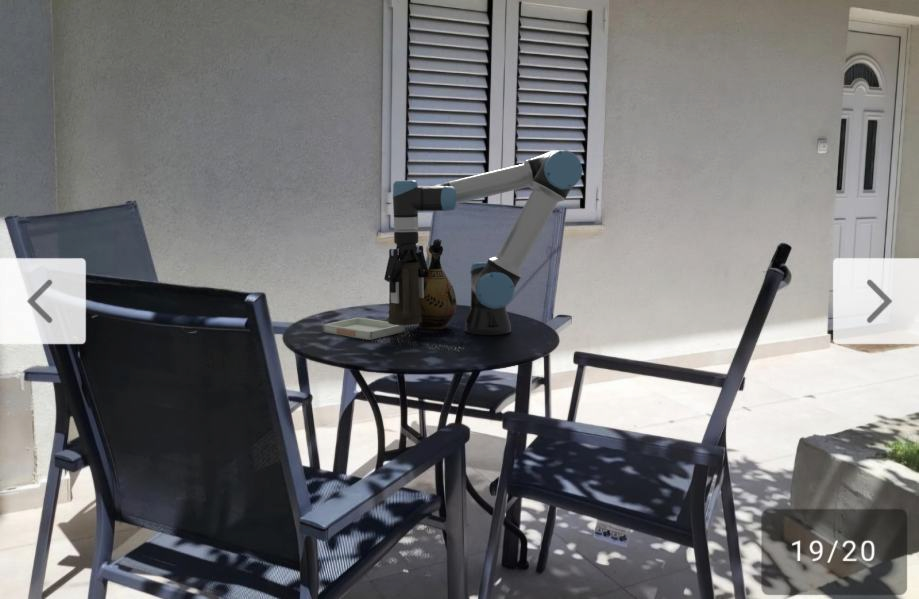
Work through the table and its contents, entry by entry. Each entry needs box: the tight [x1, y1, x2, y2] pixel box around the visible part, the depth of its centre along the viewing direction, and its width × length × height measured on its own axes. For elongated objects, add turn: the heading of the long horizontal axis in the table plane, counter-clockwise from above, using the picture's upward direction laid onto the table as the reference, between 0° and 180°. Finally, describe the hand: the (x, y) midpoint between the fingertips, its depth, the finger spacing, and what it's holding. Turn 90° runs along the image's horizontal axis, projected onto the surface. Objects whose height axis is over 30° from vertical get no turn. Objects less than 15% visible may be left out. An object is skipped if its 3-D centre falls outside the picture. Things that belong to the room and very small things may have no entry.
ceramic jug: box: [418, 238, 457, 331], centre depth 288 cm, size 17×15×30 cm
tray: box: [322, 316, 406, 341], centre depth 280 cm, size 17×21×2 cm
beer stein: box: [387, 261, 422, 326], centre depth 264 cm, size 15×11×20 cm
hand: (407, 300), depth 265 cm, fingers closed on beer stein, 11 cm apart
